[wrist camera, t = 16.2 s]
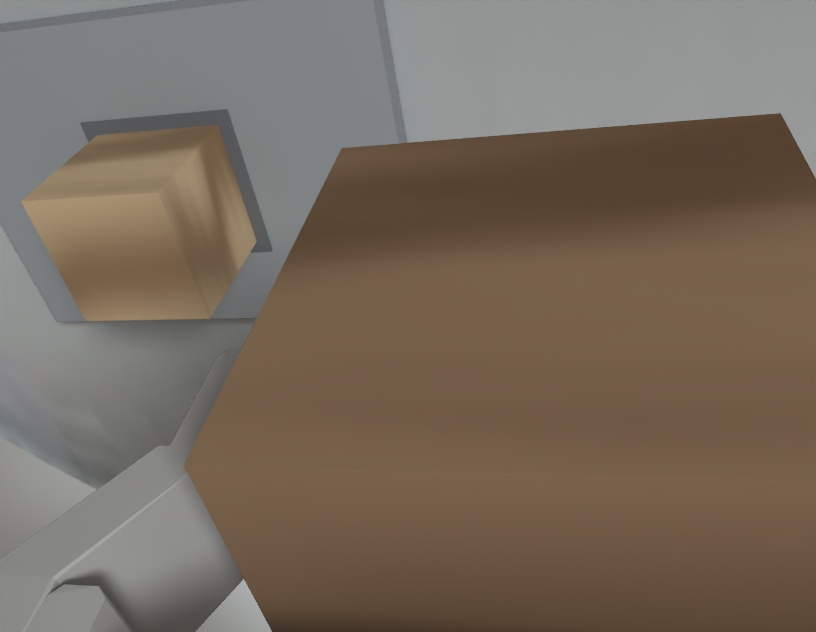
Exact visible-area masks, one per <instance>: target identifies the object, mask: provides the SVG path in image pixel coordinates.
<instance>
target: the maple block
mask: <svg viewBox="0 0 816 632" xmlns="http://www.w3.org/2000/svg"><path fill="white" fill-rule="evenodd" d="M21 202H22V204H23V206H24V208H25V210H26V212H27V213H28V215H29V217H30V219H31V221H32V223H33V224H34V226H35V228H36V230H37V232H38V234H39V236H40V237H41V239H42V241H43V243H44V245H45V247H46V249H47V250H48V252H49V254H50V256H51V258H52V260H53V261H54V263H55V265H56V267H57V269H58V271H59V273H60V274H61V276H62V278H63V280H64V282H65V284H66V286H67V287H68V289H69V291H70V293H71V295H72V297H73V299H74V300H75V302H76V304H77V306H78V308H79V310H80V311H81V313H82V315H83V317H84V319H85V321H119V320H173V319H210V318H211V316H212V314H213V313H214V311H215V309H216V308H217V306H218V305H219V303H220V301H221V300H222V298H223V296H224V295H225V293H226V291H227V290H228V288H229V286H230V285H231V283H232V281H233V280H234V278H235V277H236V275H237V273H238V272H239V270H240V268H241V267H242V265H243V263H244V262H245V260H246V258H247V257H248V255H249V254H250V252H251V250H252V249H253V247H254V245H255V244H256V242H257V241H256V238H255V235H254V232H253V229H252V226H251V223H250V220H249V217H248V214H247V211H246V208H245V205H244V202H243V199H242V196H241V193H240V190H239V187H238V184H237V181H236V178H235V175H234V172H233V169H232V166H231V163H230V160H229V157H228V154H227V151H226V148H225V145H224V142H223V139H222V136H221V132H220V129H219V126H218V125H209V126H198V127H186V128H174V129H163V130H151V131H139V132H128V133H116V134H104V135H97V136H96V137H94V138H93V139H92V140H91V141H90V142H89V143H88V144H86V145H85V146H84V147H83V148H82V149H81V150H79V151H78V152H77V153H76V154H75V155H74V156H73V157H71V158H70V159H69V160H68V161H67V162H66V163H65V164H63V165H62V166H61V167H60V168H59V169H58V170H56V171H55V172H54V173H53V174H52V175H51V176H50V177H48V178H47V179H46V180H45V181H44V182H43V183H41V184H40V185H39V186H38V187H37V188H36V189H35V190H33V191H32V192H31V193H30V194H29V195H28V196H27V197H25V198H24V199H23V200H22V201H21Z"/></svg>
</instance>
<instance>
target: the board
mask: <svg viewBox="0 0 816 632" xmlns="http://www.w3.org/2000/svg"><path fill="white" fill-rule="evenodd" d="M209 125H218V126H219V129H220V132H221V136H222V139H223V142H224V145H225V148H226V151H227V154H228V157H229V160H230V163H231V166H232V169H233V172H234V175H235V178H236V181H237V184H238V187H239V190H240V193H241V196H242V199H243V202H244V205H245V208H246V211H247V214H248V217H249V220H250V223H251V226H252V229H253V232H254V235H255V238H256V241H257V242H256V244H255V245H254V247H253V249H252V250H251V252H250V254H249V255H248V257H247V258H246V260H245V262H244V263H243V265H242V267H241V268H240V270H239V272H238V273H237V275H236V277H235V278H234V280H233V281H232V283H231V285H230V286H229V288H228V290H227V291H226V293H225V295H224V296H223V298H222V300H221V301H220V303H219V305H218V306H217V308H216V309H215V311H214V313H213V314H212V316H211V318H210V319H232V318H257V317H258V315H259V313H260V311H261V309H262V307H263V305H264V303H265V301H266V299H267V297H268V295H269V293H270V291H271V289H272V287H273V285H274V283H275V281H276V279H277V277H278V275H279V273H280V271H281V269H282V267H283V265H284V263H285V261H286V259H287V257H288V254H289V252H290V250H291V248H292V246H293V244H294V242H295V240H296V238H297V236H298V234H299V232H300V230H301V228H302V226H303V224H304V222H305V220H306V218H307V216H308V214H309V212H310V210H311V208H312V206H313V204H314V202H315V200H316V198H317V196H318V194H319V192H320V190H321V188H322V186H323V184H324V182H325V180H326V178H327V176H328V174H329V172H330V170H331V168H332V166H333V164H334V162H335V160H336V158H337V156H338V154H339V152H340V150H341V148H349V147H362V146H375V145H387V144H400V143H407V140H406V134H405V128H404V123H403V117H402V111H401V105H400V99H399V93H398V87H397V82H396V76H395V70H394V64H393V58H392V52H391V46H390V41H389V35H388V29H387V23H386V17H385V11H384V5H383V0H182V1H175V2H167V3H159V4H152V5H144V6H136V7H129V8H121V9H113V10H106V11H98V12H90V13H83V14H75V15H67V16H60V17H52V18H44V19H37V20H29V21H21V22H14V23H6V24H0V223H1V225H2V227H3V229H4V230H5V232H6V234H7V236H8V237H9V239H10V241H11V243H12V244H13V246H14V248H15V250H16V251H17V253H18V255H19V257H20V258H21V260H22V262H23V264H24V265H25V267H26V269H27V271H28V272H29V274H30V276H31V278H32V279H33V281H34V283H35V285H36V286H37V288H38V290H39V292H40V293H41V295H42V297H43V299H44V300H45V302H46V304H47V306H48V307H49V309H50V311H51V313H52V314H53V316H54V318H55V320H56V321H57V322H70V321H85V319H84V317H83V315H82V313H81V311H80V310H79V308H78V306H77V304H76V302H75V300H74V299H73V297H72V295H71V293H70V291H69V289H68V287H67V286H66V284H65V282H64V280H63V278H62V276H61V274H60V273H59V271H58V269H57V267H56V265H55V263H54V261H53V260H52V258H51V256H50V254H49V252H48V250H47V249H46V247H45V245H44V243H43V241H42V239H41V237H40V236H39V234H38V232H37V230H36V228H35V226H34V224H33V223H32V221H31V219H30V217H29V215H28V213H27V212H26V210H25V208H24V206H23V204H22V202H21V201H22V200H23V199H24V198H25V197H27V196H28V195H29V194H30V193H31V192H32V191H33V190H35V189H36V188H37V187H38V186H39V185H40V184H41V183H43V182H44V181H45V180H46V179H47V178H48V177H50V176H51V175H52V174H53V173H54V172H55V171H56V170H58V169H59V168H60V167H61V166H62V165H63V164H65V163H66V162H67V161H68V160H69V159H70V158H71V157H73V156H74V155H75V154H76V153H77V152H78V151H79V150H81V149H82V148H83V147H84V146H85V145H86V144H88V143H89V142H90V141H91V140H92V139H93V138H94V137H96V136H97V135H104V134H116V133H128V132H139V131H151V130H163V129H174V128H186V127H198V126H209ZM173 320H178V319H173ZM119 321H124V320H119Z"/></svg>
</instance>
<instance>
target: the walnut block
mask: <svg viewBox="0 0 816 632" xmlns="http://www.w3.org/2000/svg"><path fill="white" fill-rule="evenodd" d="M183 466H184V468H185V469H186V471H187V473H188V475H189V477H190V479H191V481H192V482H193V484H194V486H195V488H196V490H197V492H198V494H199V496H200V497H201V499H202V501H203V503H204V505H205V507H206V509H207V510H208V512H209V514H210V516H211V518H212V520H213V522H214V524H215V525H216V527H217V529H218V531H219V533H220V535H221V537H222V539H223V540H224V542H225V544H226V546H227V548H228V550H229V552H230V553H231V555H232V557H233V559H234V561H235V563H236V565H237V567H238V568H239V570H240V572H241V574H242V576H243V578H244V580H245V581H246V583H247V585H248V587H249V589H250V591H251V593H252V595H253V596H254V598H255V600H256V602H257V603H258V606H259V608H260V609H261V611H262V613H263V615H264V617H265V619H266V621H267V622H268V624H269V626H270V628H271V630H272V632H816V179H815V177H814V175H813V173H812V171H811V169H810V167H809V166H808V164H807V162H806V160H805V158H804V156H803V154H802V153H801V151H800V149H799V147H798V145H797V143H796V141H795V139H794V138H793V136H792V134H791V132H790V130H789V128H788V126H787V125H786V123H785V121H784V119H783V117H782V115H781V113H779V114H767V115H754V116H741V117H729V118H716V119H704V120H691V121H678V122H666V123H653V124H640V125H628V126H615V127H602V128H590V129H577V130H564V131H552V132H539V133H526V134H514V135H501V136H488V137H476V138H463V139H450V140H438V141H425V142H413V143H400V144H387V145H375V146H362V147H349V148H341V150H340V152H339V154H338V156H337V158H336V160H335V162H334V164H333V166H332V168H331V170H330V172H329V174H328V176H327V178H326V180H325V182H324V184H323V186H322V188H321V190H320V192H319V194H318V196H317V198H316V200H315V202H314V204H313V206H312V208H311V210H310V212H309V214H308V216H307V218H306V220H305V222H304V224H303V226H302V228H301V230H300V232H299V234H298V236H297V238H296V240H295V242H294V244H293V246H292V248H291V250H290V252H289V254H288V257H287V259H286V261H285V263H284V265H283V267H282V269H281V271H280V273H279V275H278V277H277V279H276V281H275V283H274V285H273V287H272V289H271V291H270V293H269V295H268V297H267V299H266V301H265V303H264V305H263V307H262V309H261V311H260V313H259V315H258V317H257V319H256V321H255V323H254V325H253V327H252V329H251V331H250V333H249V335H248V337H247V339H246V341H245V343H244V345H243V347H242V349H241V351H240V353H239V355H238V357H237V359H236V361H235V363H234V365H233V367H232V369H231V371H230V373H229V375H228V377H227V379H226V381H225V383H224V385H223V387H222V389H221V391H220V393H219V395H218V397H217V399H216V401H215V403H214V405H213V407H212V409H211V411H210V413H209V415H208V417H207V419H206V421H205V423H204V425H203V427H202V429H201V431H200V433H199V435H198V437H197V439H196V441H195V443H194V445H193V447H192V449H191V451H190V453H189V455H188V457H187V459H186V461H185V463H184V465H183Z"/></svg>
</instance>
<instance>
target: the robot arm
mask: <svg viewBox="0 0 816 632" xmlns="http://www.w3.org/2000/svg"><path fill="white" fill-rule="evenodd" d="M240 351H241V350H226V351H224V352H223V353H221V354H220V355H218V357H217V358H216V360H215V362H214V364H213V366H212V367H211V369H210V371H209V373H208V375H207V377H206V379H205V381H204V382H203V384H202V386H201V388H200V390H199V392H198V394H197V395H196V397H195V399H194V401H193V403H192V405H191V407H190V409H189V410H188V412H187V414H186V416H185V418H184V420H183V422H182V423H181V425H180V427H179V429H178V431H177V433H176V435H175V437H174V438H173V440H172V442H171V444H170V446H157V447H156V448H155V449H153V450H152V451H150V452H149V453H148V454H146V455H145V456H143V457H142V458H141V459H139V460H138V461H136V462H135V463H134V464H132V465H131V466H130V467H128V468H127V469H125V470H124V471H123V472H121V473H120V474H118V475H117V476H116V477H114V478H113V479H111V480H110V481H109V482H107V483H106V484H104V485H103V486H102V487H100V488H99V489H98V490H96V491H95V492H93V493H92V494H91V495H89V496H88V497H86V498H85V499H84V500H82V501H81V502H79V503H78V504H77V505H75V506H74V507H73V508H71V509H70V510H68V511H67V512H66V513H64V514H63V515H62V516H60V517H59V518H57V519H56V520H54V521H53V522H52V523H50V524H49V525H48V526H46V527H45V528H43V529H42V530H41V531H39V532H38V533H36V534H35V535H34V536H32V537H31V538H29V539H28V540H27V541H25V542H24V543H22V544H21V545H20V546H18V547H17V548H16V549H14V550H13V551H11V552H10V553H9V554H7V555H6V556H5V557H3V558H2V559H0V632H195V631H196V630H197V629H198V628H199V627H200V626H201V625H202V624H203V623H204V621H205V620H206V619H207V618H208V617H209V616H210V615H211V613H213V612H214V611H215V609H216V608H217V607H218V606H219V605H220V604H221V603H222V602H223V601H224V600H225V599H226V597H227V596H228V595H229V594H230V593H231V592H232V591H233V590H234V589H235V588H236V586H237V585H238V584H239V583H240V582H241V581H242V580H243V579H244V578H243V576H242V574H241V572H240V570H239V568H238V567H237V565H236V563H235V561H234V559H233V557H232V555H231V553H230V552H229V550H228V548H227V546H226V544H225V542H224V540H223V539H222V537H221V535H220V533H219V531H218V529H217V527H216V525H215V524H214V522H213V520H212V518H211V516H210V514H209V512H208V510H207V509H206V507H205V505H204V503H203V501H202V499H201V497H200V496H199V494H198V492H197V490H196V488H195V486H194V484H193V482H192V481H191V479H190V477H189V475H188V473H187V471H186V469H185V468H184V466H183V465H184V463H185V461H186V459H187V457H188V455H189V453H190V451H191V449H192V447H193V445H194V443H195V441H196V439H197V437H198V435H199V433H200V431H201V429H202V427H203V425H204V423H205V421H206V419H207V417H208V415H209V413H210V411H211V409H212V407H213V405H214V403H215V401H216V399H217V397H218V395H219V393H220V391H221V389H222V387H223V385H224V383H225V381H226V379H227V377H228V375H229V373H230V371H231V369H232V367H233V365H234V363H235V361H236V359H237V357H238V355H239V353H240Z"/></svg>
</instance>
